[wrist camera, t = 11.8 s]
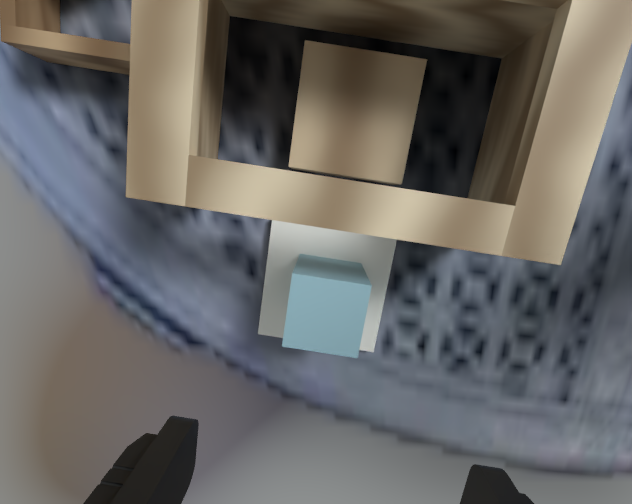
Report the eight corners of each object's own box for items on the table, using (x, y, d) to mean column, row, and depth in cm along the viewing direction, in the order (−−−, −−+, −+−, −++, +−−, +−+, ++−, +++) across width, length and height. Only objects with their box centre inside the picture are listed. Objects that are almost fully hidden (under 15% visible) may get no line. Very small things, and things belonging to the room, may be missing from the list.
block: (361, 263, 26) (371, 285, 20) (350, 320, 27) (357, 358, 21) (299, 253, 26) (292, 273, 20) (291, 311, 27) (281, 346, 21)
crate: (519, 45, 23) (664, -62, 13) (470, 235, 26) (560, 264, 16) (217, -2, 23) (136, -145, 13) (202, 193, 26) (125, 196, 16)
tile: (395, 236, 26) (397, 237, 25) (372, 347, 28) (373, 352, 27) (273, 217, 26) (272, 218, 25) (259, 330, 28) (257, 334, 27)
